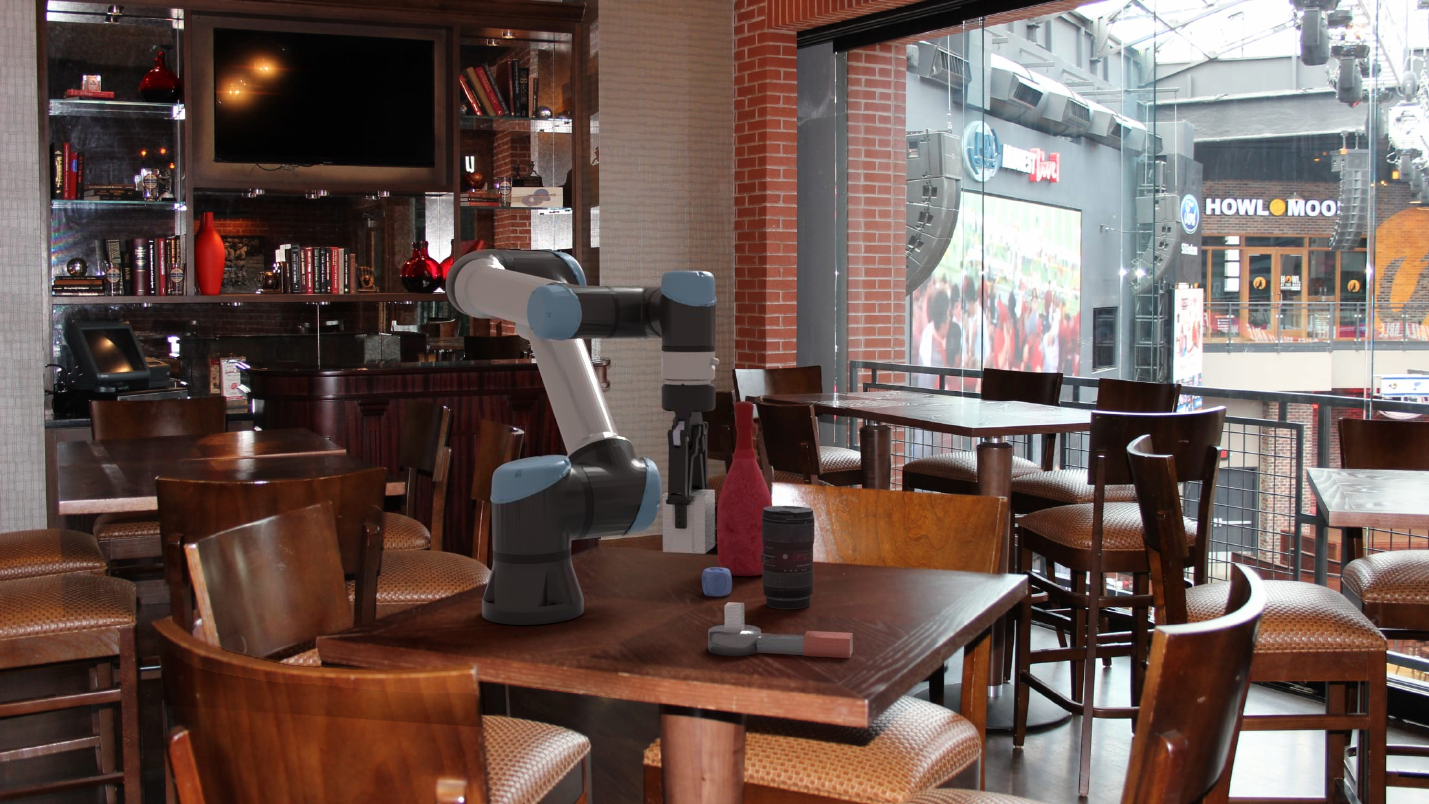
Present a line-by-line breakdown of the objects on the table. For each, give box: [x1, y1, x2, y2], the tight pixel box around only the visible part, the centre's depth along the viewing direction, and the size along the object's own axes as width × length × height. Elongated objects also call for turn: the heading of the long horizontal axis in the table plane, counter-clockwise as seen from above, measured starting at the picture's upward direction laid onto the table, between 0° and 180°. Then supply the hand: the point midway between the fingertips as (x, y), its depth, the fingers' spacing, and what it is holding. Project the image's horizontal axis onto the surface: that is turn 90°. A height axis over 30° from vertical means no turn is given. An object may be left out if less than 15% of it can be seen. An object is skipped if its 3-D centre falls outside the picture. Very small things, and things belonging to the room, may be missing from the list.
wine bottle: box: [716, 400, 773, 577], centre depth 214 cm, size 10×10×30 cm
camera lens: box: [761, 505, 816, 610], centre depth 189 cm, size 8×8×15 cm
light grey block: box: [662, 489, 716, 555], centre depth 172 cm, size 6×6×8 cm
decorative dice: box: [701, 566, 733, 598], centre depth 197 cm, size 4×4×4 cm
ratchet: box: [707, 601, 854, 659], centre depth 162 cm, size 19×7×6 cm, turn 77°
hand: (688, 546), depth 172 cm, fingers closed on light grey block, 6 cm apart
